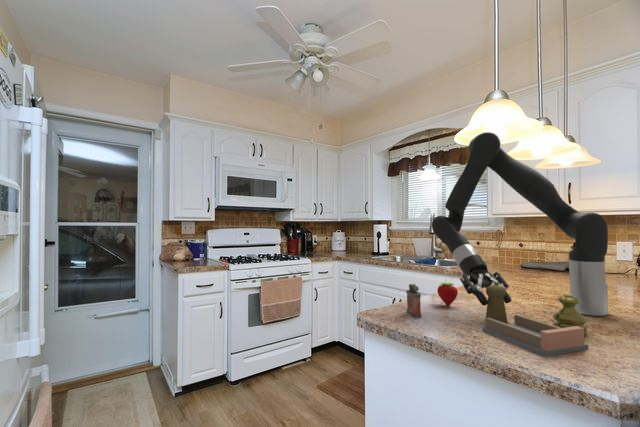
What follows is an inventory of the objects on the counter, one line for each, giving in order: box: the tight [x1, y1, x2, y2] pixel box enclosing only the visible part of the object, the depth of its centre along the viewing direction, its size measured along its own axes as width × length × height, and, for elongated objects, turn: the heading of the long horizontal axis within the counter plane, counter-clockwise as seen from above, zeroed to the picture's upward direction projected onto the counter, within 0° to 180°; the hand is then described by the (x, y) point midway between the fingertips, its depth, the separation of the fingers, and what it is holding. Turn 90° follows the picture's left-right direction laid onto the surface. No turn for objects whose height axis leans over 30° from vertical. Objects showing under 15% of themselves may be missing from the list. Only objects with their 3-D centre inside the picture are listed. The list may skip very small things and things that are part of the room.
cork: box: [485, 284, 509, 324], centre depth 97 cm, size 6×6×11 cm
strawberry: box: [436, 278, 459, 307], centre depth 116 cm, size 6×8×10 cm
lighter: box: [405, 283, 422, 319], centre depth 106 cm, size 8×3×10 cm, turn 5°
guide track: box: [481, 314, 590, 357], centre depth 82 cm, size 14×18×5 cm
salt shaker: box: [552, 294, 588, 337], centre depth 87 cm, size 7×7×10 cm
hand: (497, 303), depth 96 cm, fingers open, 8 cm apart
